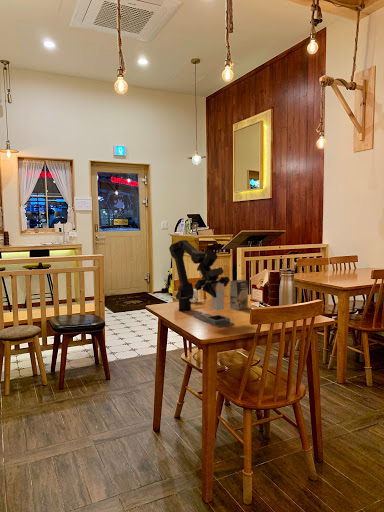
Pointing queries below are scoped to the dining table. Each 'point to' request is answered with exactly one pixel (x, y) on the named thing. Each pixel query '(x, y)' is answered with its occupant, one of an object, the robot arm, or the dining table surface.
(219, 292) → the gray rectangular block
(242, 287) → the coffee box
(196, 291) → the penguin figurine
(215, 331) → the dining table surface
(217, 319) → the dark flat piece
